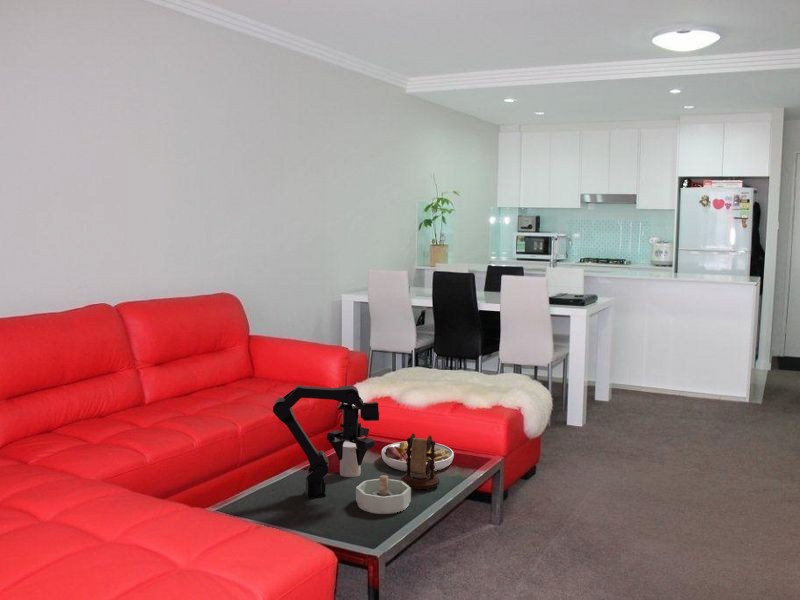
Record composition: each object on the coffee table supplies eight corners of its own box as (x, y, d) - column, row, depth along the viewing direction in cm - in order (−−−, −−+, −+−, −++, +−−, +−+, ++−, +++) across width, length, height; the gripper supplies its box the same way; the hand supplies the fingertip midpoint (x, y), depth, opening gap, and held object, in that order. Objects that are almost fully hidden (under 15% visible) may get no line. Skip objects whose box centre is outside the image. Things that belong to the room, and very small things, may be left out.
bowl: (427, 448, 335) (428, 431, 334) (467, 468, 309) (468, 449, 308) (368, 458, 319) (368, 440, 319) (405, 480, 294) (405, 460, 293)
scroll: (395, 489, 283) (396, 437, 281) (408, 476, 297) (409, 427, 294) (432, 494, 278) (434, 442, 276) (444, 481, 292) (445, 431, 290)
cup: (351, 478, 293) (351, 448, 292) (335, 474, 298) (336, 444, 297) (364, 473, 300) (365, 443, 298) (349, 468, 305) (349, 439, 303)
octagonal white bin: (368, 517, 256) (369, 500, 255) (350, 498, 273) (350, 482, 272) (417, 509, 263) (418, 493, 263) (396, 491, 280) (396, 476, 279)
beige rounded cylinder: (381, 503, 266) (381, 478, 265) (377, 500, 269) (378, 475, 268) (388, 502, 267) (389, 477, 266) (385, 499, 270) (386, 474, 269)
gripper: (384, 421, 274) (383, 462, 276) (346, 412, 286) (345, 452, 287) (364, 427, 265) (363, 470, 267) (325, 418, 277) (325, 459, 279)
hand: (350, 462), depth 275 cm, fingers open, 9 cm apart
